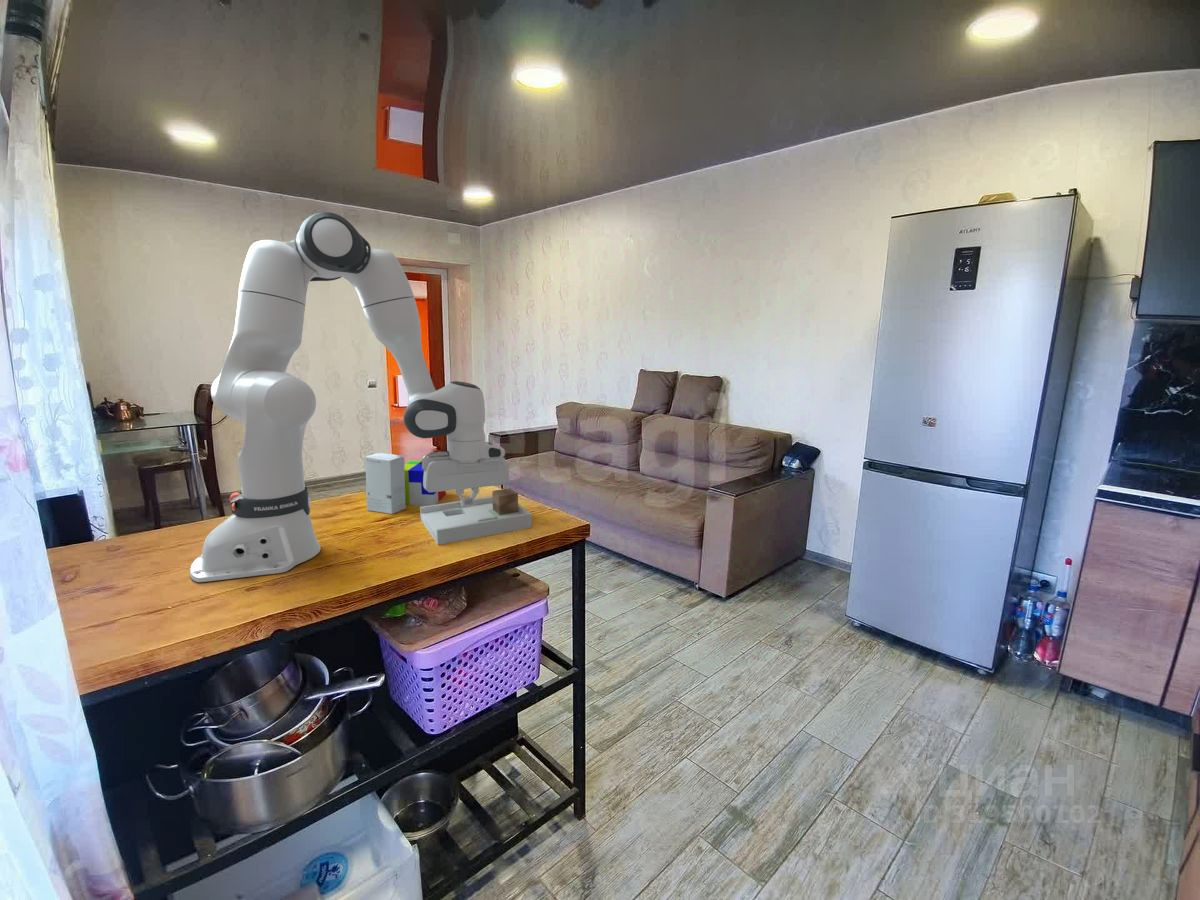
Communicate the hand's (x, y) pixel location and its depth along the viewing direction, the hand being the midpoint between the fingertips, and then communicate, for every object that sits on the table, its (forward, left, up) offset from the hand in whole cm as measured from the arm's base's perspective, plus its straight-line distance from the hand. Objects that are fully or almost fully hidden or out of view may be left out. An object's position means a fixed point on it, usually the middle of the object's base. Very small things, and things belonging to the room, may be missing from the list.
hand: (467, 505), depth 126 cm
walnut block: (+10, +1, -4) cm, 11 cm away
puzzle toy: (-5, +26, -6) cm, 27 cm away
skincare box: (-15, +22, -6) cm, 27 cm away
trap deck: (+2, +1, -6) cm, 6 cm away
